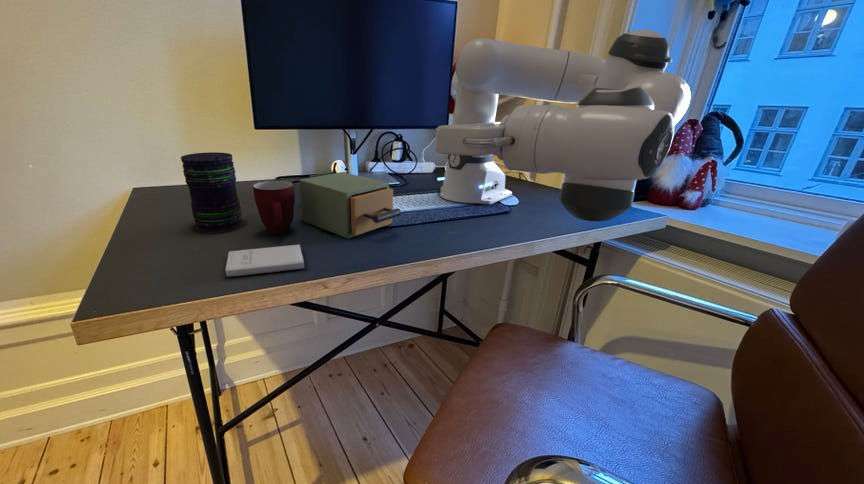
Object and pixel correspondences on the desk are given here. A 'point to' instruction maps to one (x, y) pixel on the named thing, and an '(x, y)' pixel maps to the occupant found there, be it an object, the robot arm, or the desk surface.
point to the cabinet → (333, 199)
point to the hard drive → (264, 260)
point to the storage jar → (212, 191)
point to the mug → (275, 204)
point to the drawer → (371, 210)
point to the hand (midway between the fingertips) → (445, 134)
